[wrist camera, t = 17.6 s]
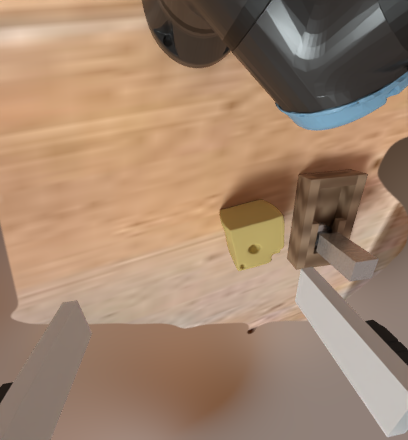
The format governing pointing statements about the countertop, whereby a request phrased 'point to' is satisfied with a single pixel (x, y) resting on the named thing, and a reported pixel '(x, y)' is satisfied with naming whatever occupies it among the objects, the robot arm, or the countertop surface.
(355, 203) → the keyhole plate
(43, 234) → the countertop surface
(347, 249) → the peg
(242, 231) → the cheese
